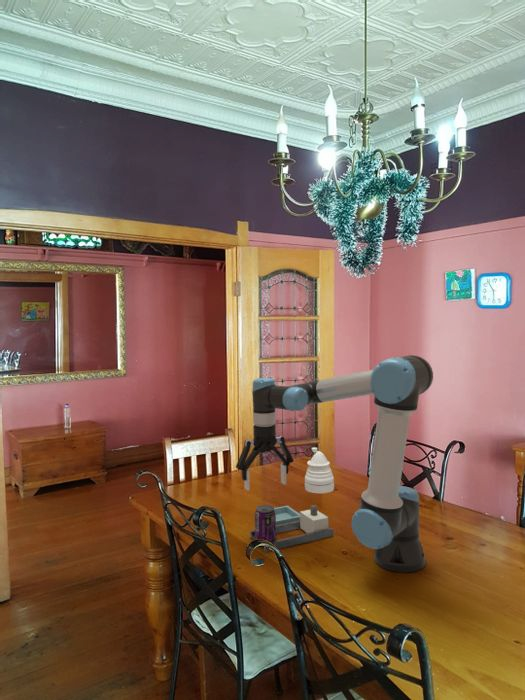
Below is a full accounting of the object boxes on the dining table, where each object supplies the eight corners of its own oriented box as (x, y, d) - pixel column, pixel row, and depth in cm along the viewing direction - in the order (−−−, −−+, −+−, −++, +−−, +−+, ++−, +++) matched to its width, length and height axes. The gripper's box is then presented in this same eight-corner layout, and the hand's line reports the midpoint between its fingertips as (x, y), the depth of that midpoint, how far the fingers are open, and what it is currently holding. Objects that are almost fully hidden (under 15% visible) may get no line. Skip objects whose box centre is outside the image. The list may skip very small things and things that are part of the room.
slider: (328, 534, 178) (328, 509, 177) (313, 537, 175) (313, 512, 175) (314, 524, 186) (314, 500, 186) (300, 527, 184) (299, 503, 183)
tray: (303, 523, 188) (302, 516, 188) (273, 530, 183) (273, 522, 183) (287, 513, 199) (287, 505, 199) (259, 518, 194) (259, 511, 194)
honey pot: (301, 491, 224) (300, 450, 223) (309, 482, 236) (309, 444, 234) (329, 494, 219) (329, 453, 218) (337, 485, 231) (336, 446, 230)
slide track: (333, 536, 177) (333, 529, 177) (265, 552, 166) (265, 544, 166) (314, 523, 188) (314, 517, 188) (250, 537, 177) (250, 530, 177)
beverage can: (274, 548, 169) (273, 512, 168) (253, 546, 170) (252, 511, 169) (277, 539, 176) (277, 504, 175) (257, 537, 177) (256, 503, 176)
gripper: (292, 418, 180) (293, 478, 181) (225, 426, 170) (227, 488, 171) (302, 422, 173) (303, 484, 175) (233, 430, 163) (235, 495, 165)
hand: (265, 486), depth 173 cm, fingers open, 13 cm apart
